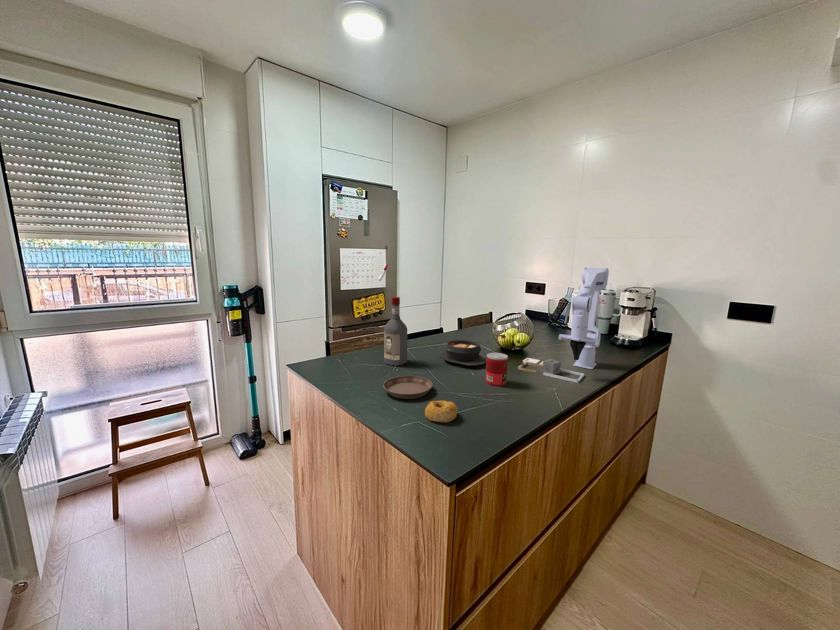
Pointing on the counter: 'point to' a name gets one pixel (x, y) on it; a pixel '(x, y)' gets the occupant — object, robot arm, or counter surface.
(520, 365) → the oak pen
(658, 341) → the counter surface
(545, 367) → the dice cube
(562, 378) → the metal frame
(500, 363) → the canned food
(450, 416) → the bagel
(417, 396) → the plant saucer
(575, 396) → the counter surface
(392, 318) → the liquor
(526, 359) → the dish
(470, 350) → the casserole
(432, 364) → the counter surface
